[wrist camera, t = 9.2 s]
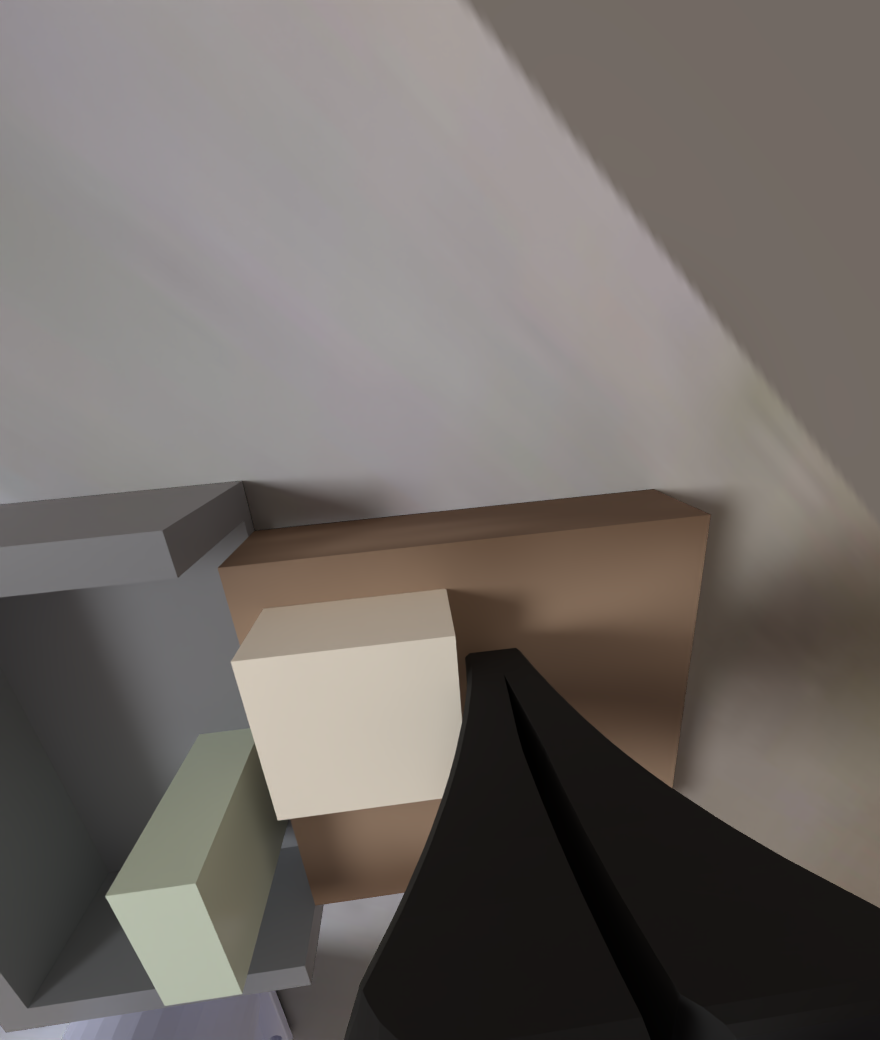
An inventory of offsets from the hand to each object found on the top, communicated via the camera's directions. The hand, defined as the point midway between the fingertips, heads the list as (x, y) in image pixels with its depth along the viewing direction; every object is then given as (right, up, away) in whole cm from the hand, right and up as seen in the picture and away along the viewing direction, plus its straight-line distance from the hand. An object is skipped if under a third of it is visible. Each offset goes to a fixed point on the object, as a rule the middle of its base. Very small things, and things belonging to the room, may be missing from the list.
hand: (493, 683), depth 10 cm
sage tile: (-7, -6, +2) cm, 9 cm away
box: (-10, -2, +3) cm, 11 cm away
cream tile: (-3, 0, +1) cm, 3 cm away
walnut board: (0, -2, +4) cm, 4 cm away
